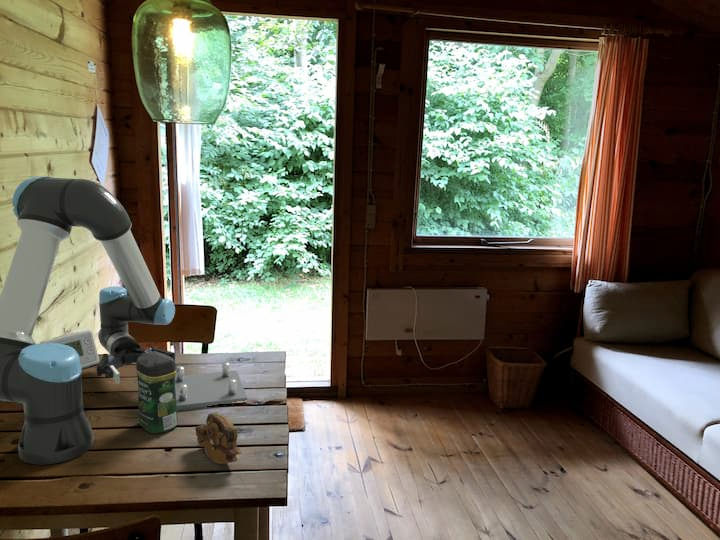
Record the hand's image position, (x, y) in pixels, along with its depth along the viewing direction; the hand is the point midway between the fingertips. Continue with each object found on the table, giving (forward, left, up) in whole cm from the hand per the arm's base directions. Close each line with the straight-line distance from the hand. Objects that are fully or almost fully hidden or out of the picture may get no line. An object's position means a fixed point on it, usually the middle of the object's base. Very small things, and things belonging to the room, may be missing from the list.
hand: (146, 373), depth 147 cm
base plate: (+14, -11, -11) cm, 20 cm away
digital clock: (+24, +34, -11) cm, 43 cm away
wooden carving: (-20, -25, -11) cm, 34 cm away
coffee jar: (-7, -6, -11) cm, 14 cm away
